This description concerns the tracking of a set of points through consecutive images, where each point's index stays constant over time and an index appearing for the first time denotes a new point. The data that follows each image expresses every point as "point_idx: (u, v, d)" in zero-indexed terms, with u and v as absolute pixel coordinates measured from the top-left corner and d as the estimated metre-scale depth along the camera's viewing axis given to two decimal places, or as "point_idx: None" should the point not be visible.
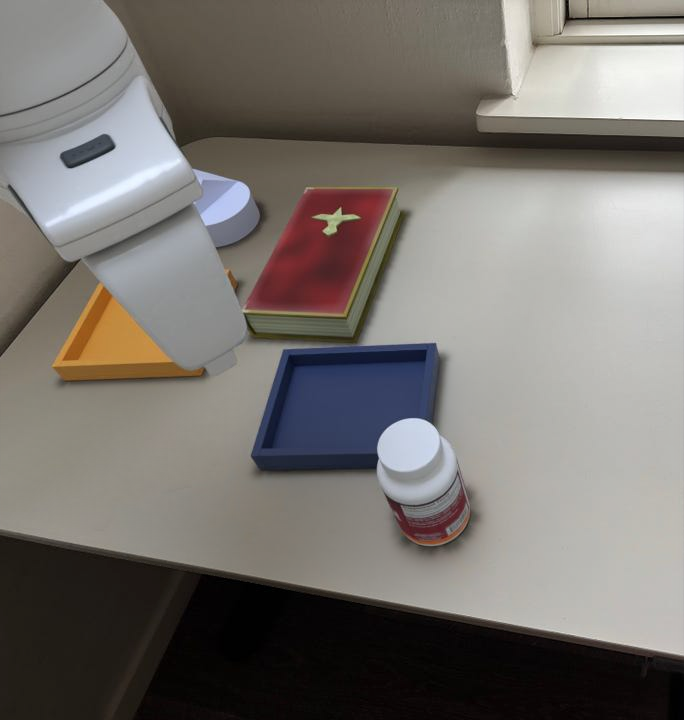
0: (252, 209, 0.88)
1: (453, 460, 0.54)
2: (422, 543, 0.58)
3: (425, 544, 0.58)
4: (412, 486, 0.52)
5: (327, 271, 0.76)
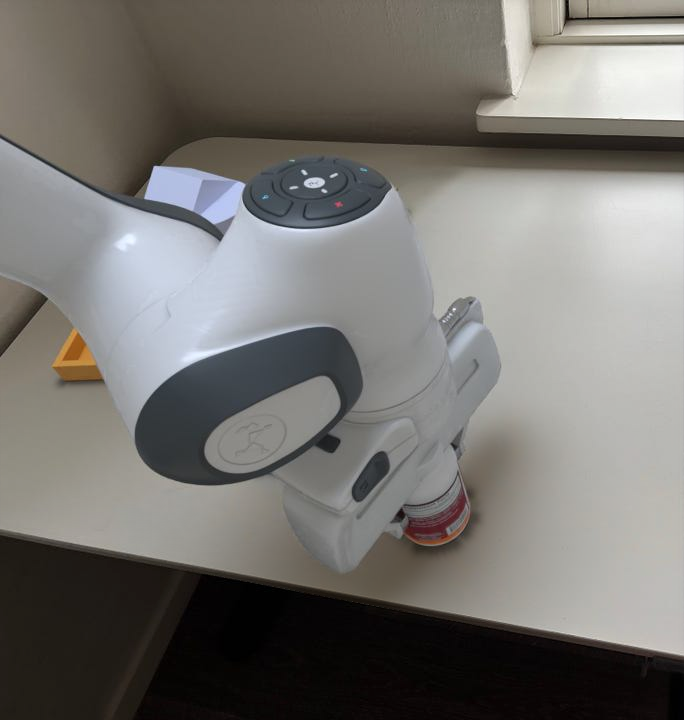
0: None
1: (454, 460, 0.54)
2: (422, 543, 0.58)
3: (425, 544, 0.58)
4: None
5: None
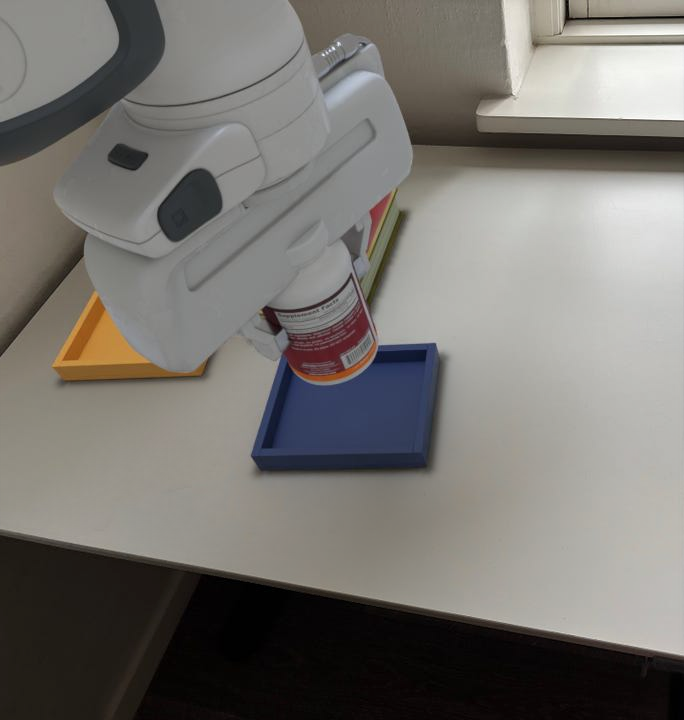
0: None
1: (344, 257, 0.42)
2: (314, 380, 0.46)
3: (318, 381, 0.46)
4: None
5: None
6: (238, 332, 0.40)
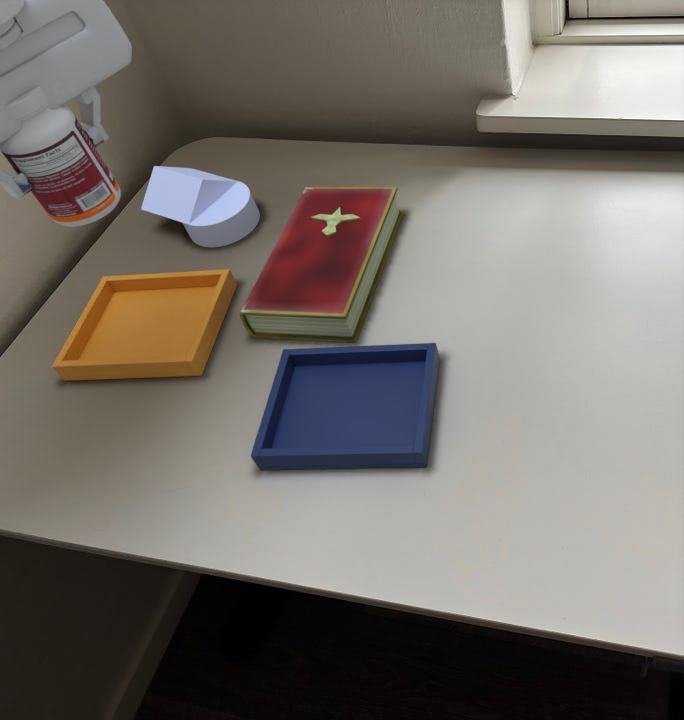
0: (252, 209, 0.88)
1: (65, 118, 0.56)
2: (62, 221, 0.60)
3: (65, 222, 0.60)
4: None
5: (326, 271, 0.76)
6: None
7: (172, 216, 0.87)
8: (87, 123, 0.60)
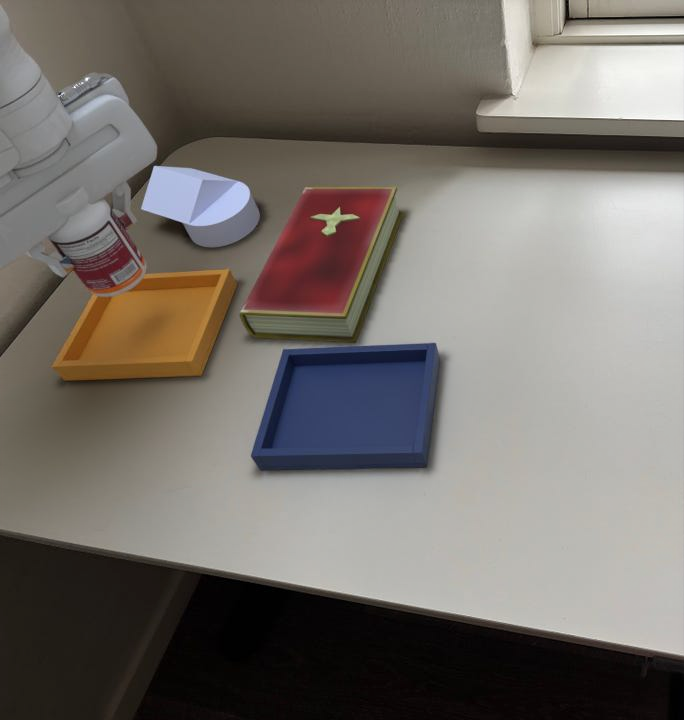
0: (252, 209, 0.88)
1: (102, 210, 0.67)
2: (98, 293, 0.71)
3: (100, 294, 0.71)
4: None
5: (326, 271, 0.76)
6: (30, 255, 0.65)
7: (172, 216, 0.87)
8: (119, 210, 0.71)
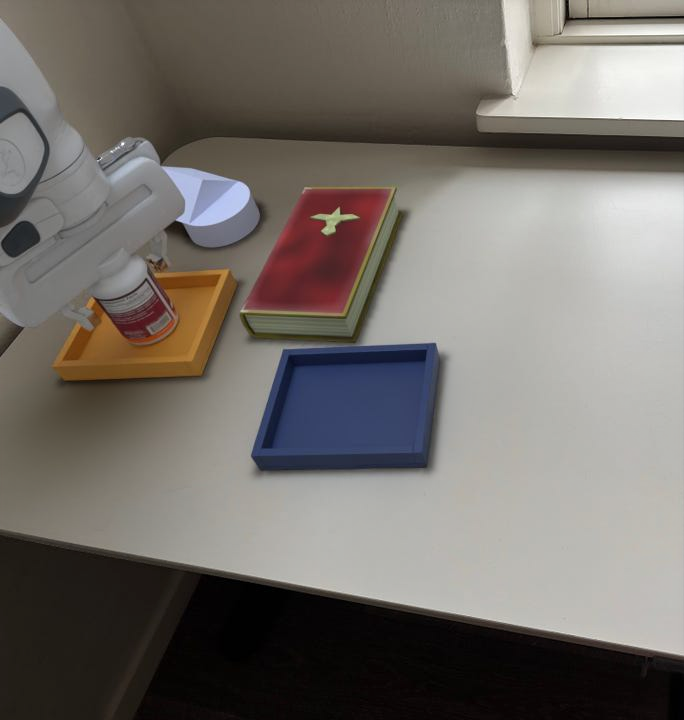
0: (252, 209, 0.88)
1: (140, 269, 0.72)
2: (134, 342, 0.77)
3: (136, 343, 0.77)
4: (103, 283, 0.71)
5: (326, 271, 0.76)
6: (60, 313, 0.69)
7: None
8: (156, 255, 0.76)
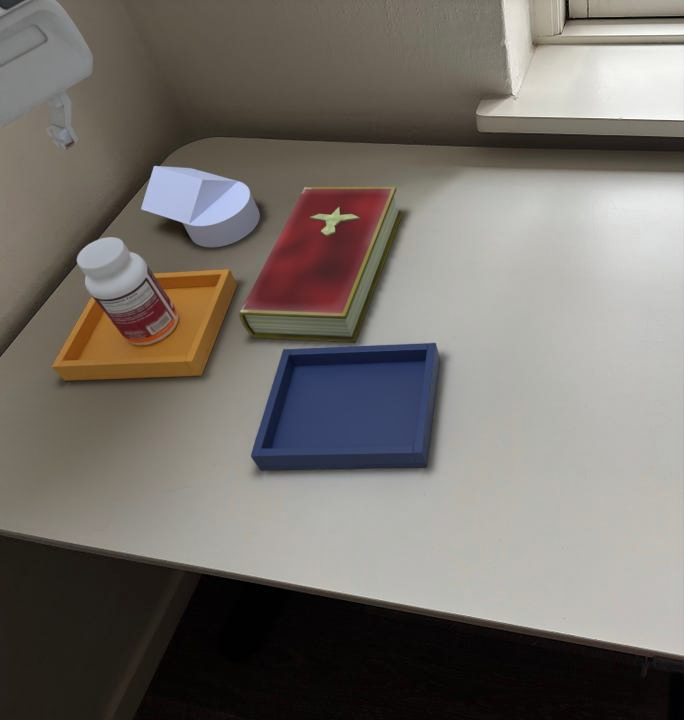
0: (252, 209, 0.88)
1: (140, 269, 0.72)
2: (134, 342, 0.77)
3: (136, 343, 0.77)
4: (103, 283, 0.71)
5: (326, 271, 0.76)
6: None
7: (172, 216, 0.87)
8: None
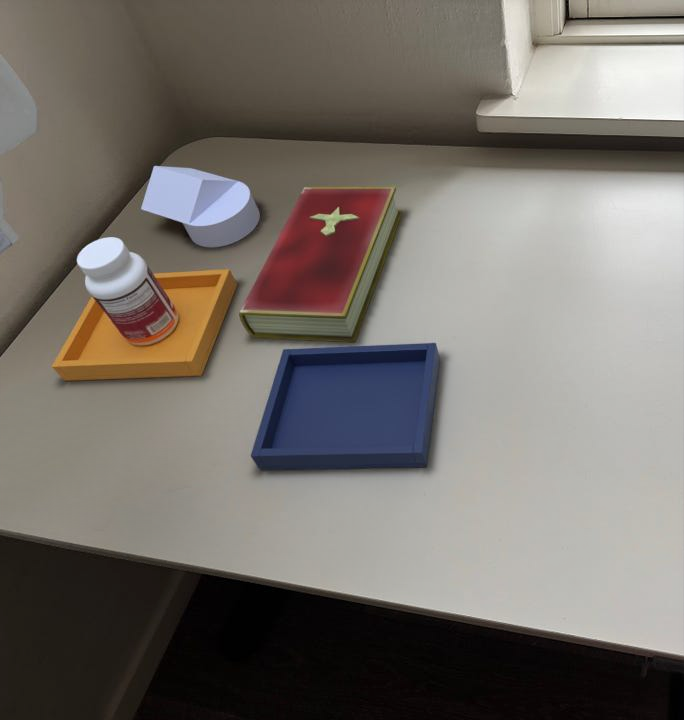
0: (252, 209, 0.88)
1: (140, 269, 0.72)
2: (134, 342, 0.77)
3: (136, 343, 0.77)
4: (103, 283, 0.71)
5: (326, 271, 0.76)
6: None
7: (172, 216, 0.87)
8: None
